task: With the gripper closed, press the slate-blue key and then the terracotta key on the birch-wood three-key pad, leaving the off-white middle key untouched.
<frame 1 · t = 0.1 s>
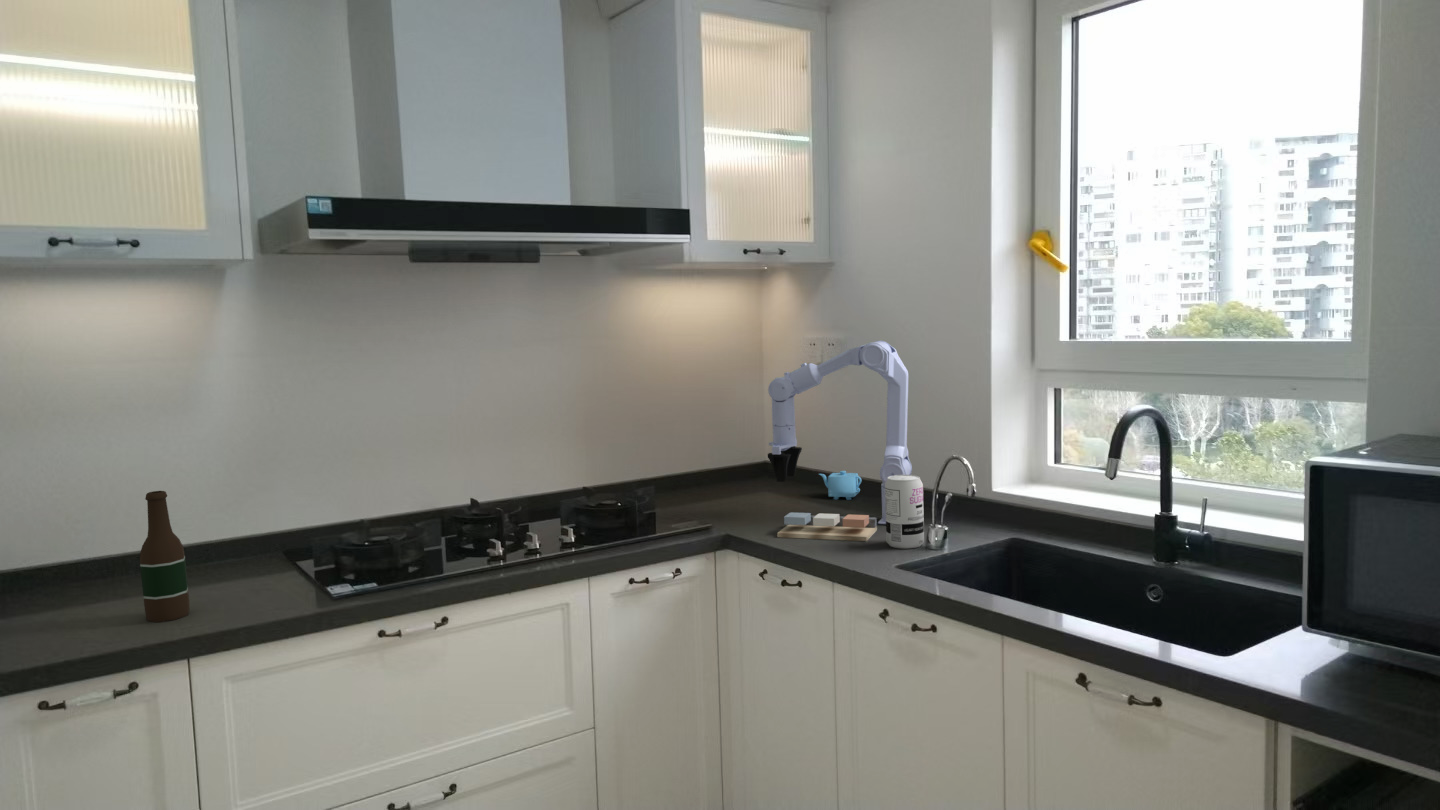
hand: (785, 478, 251), 10 cm above the worktop, fingers open, 7 cm apart
key slate: (797, 518, 235), point 3 cm above the worktop, slide at 0.0 cm
teapot: (840, 498, 275), on the worktop
key middle: (826, 519, 232), point 3 cm above the worktop, slide at 0.0 cm
beer bottle: (168, 617, 190), on the worktop
supplement can: (905, 545, 220), on the worktop
keypad base: (827, 533, 233), on the worktop
key terracotta: (855, 520, 230), point 3 cm above the worktop, slide at 0.0 cm
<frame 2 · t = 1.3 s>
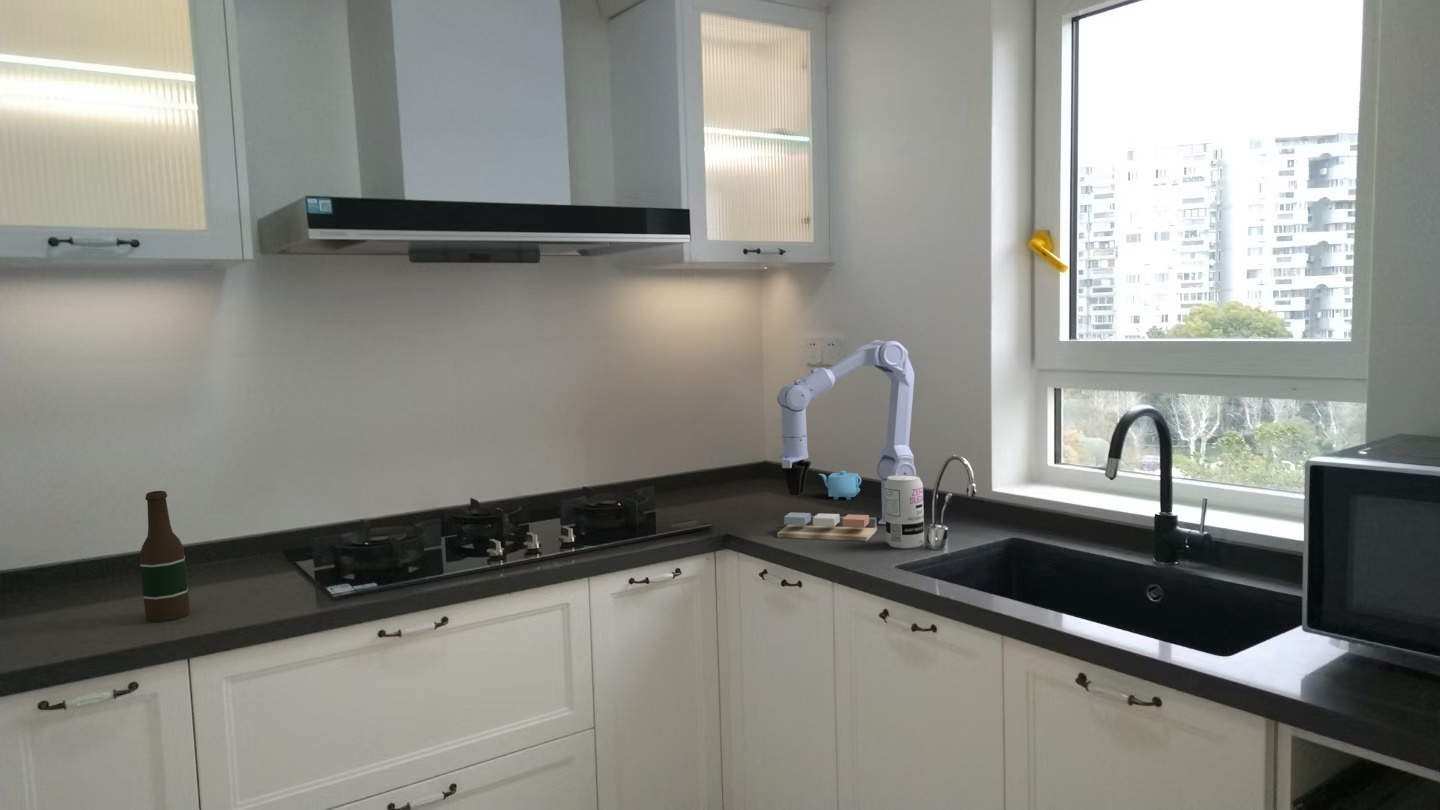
hand: (796, 493, 234), 9 cm above the worktop, fingers open, 3 cm apart
nothing on the worktop moved.
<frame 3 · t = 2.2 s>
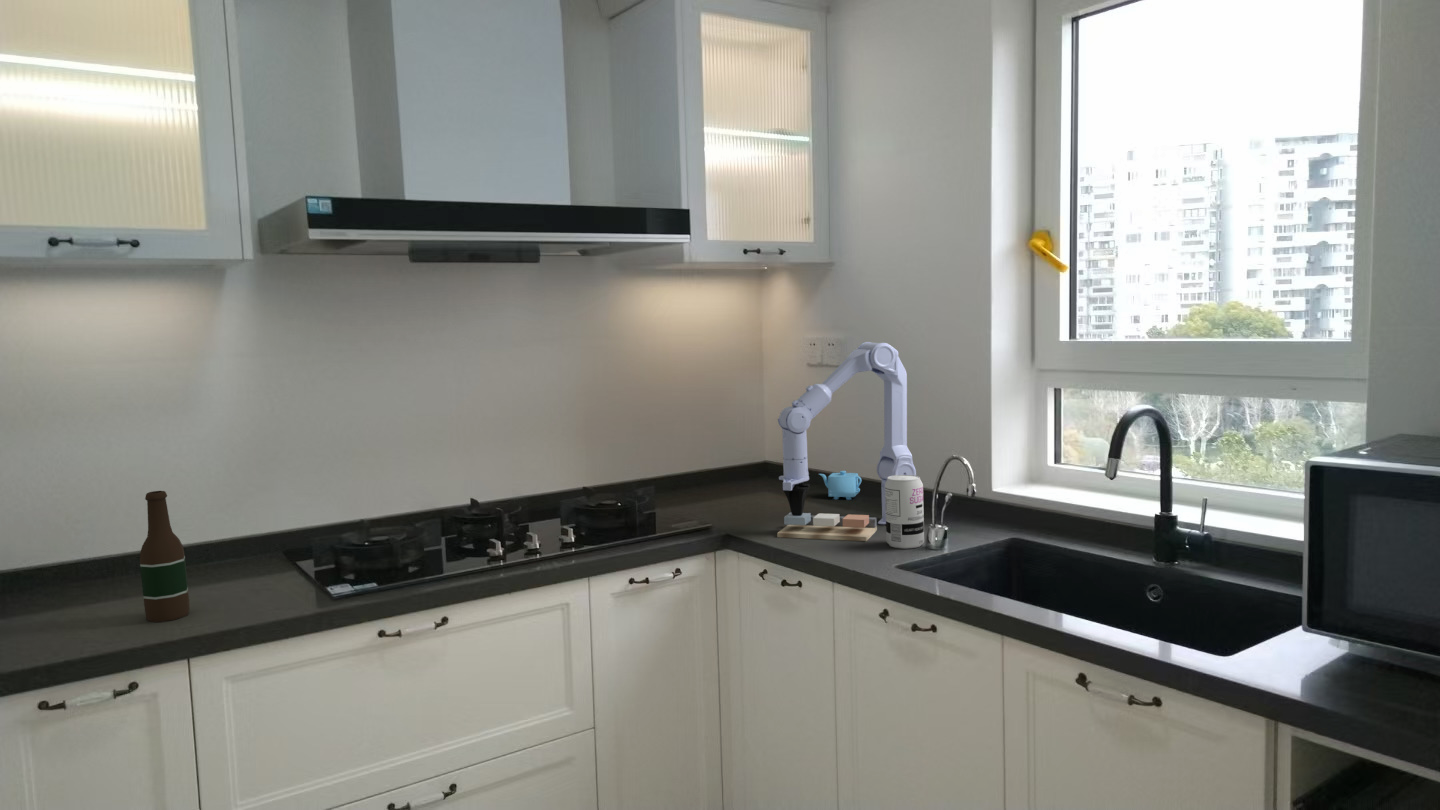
hand: (797, 515, 235), 4 cm above the worktop, fingers closed, pressing on key slate
key slate: (797, 518, 235), point 3 cm above the worktop, slide at 0.0 cm, touching gripper
everything else where it was.
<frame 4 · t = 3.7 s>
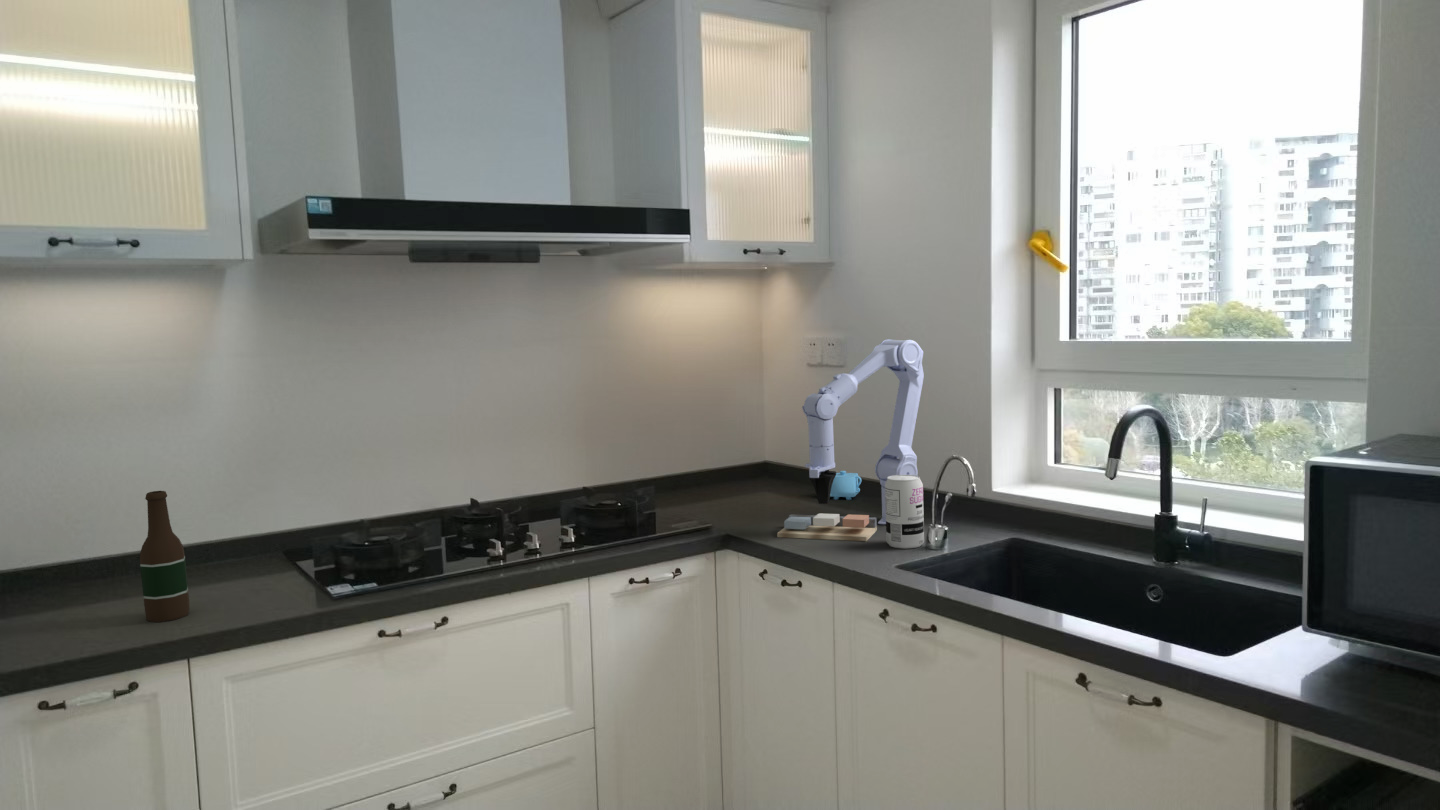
hand: (823, 503, 232), 7 cm above the worktop, fingers closed
key slate: (797, 522, 235), point 2 cm above the worktop, slide at 1.0 cm
everything else where it was.
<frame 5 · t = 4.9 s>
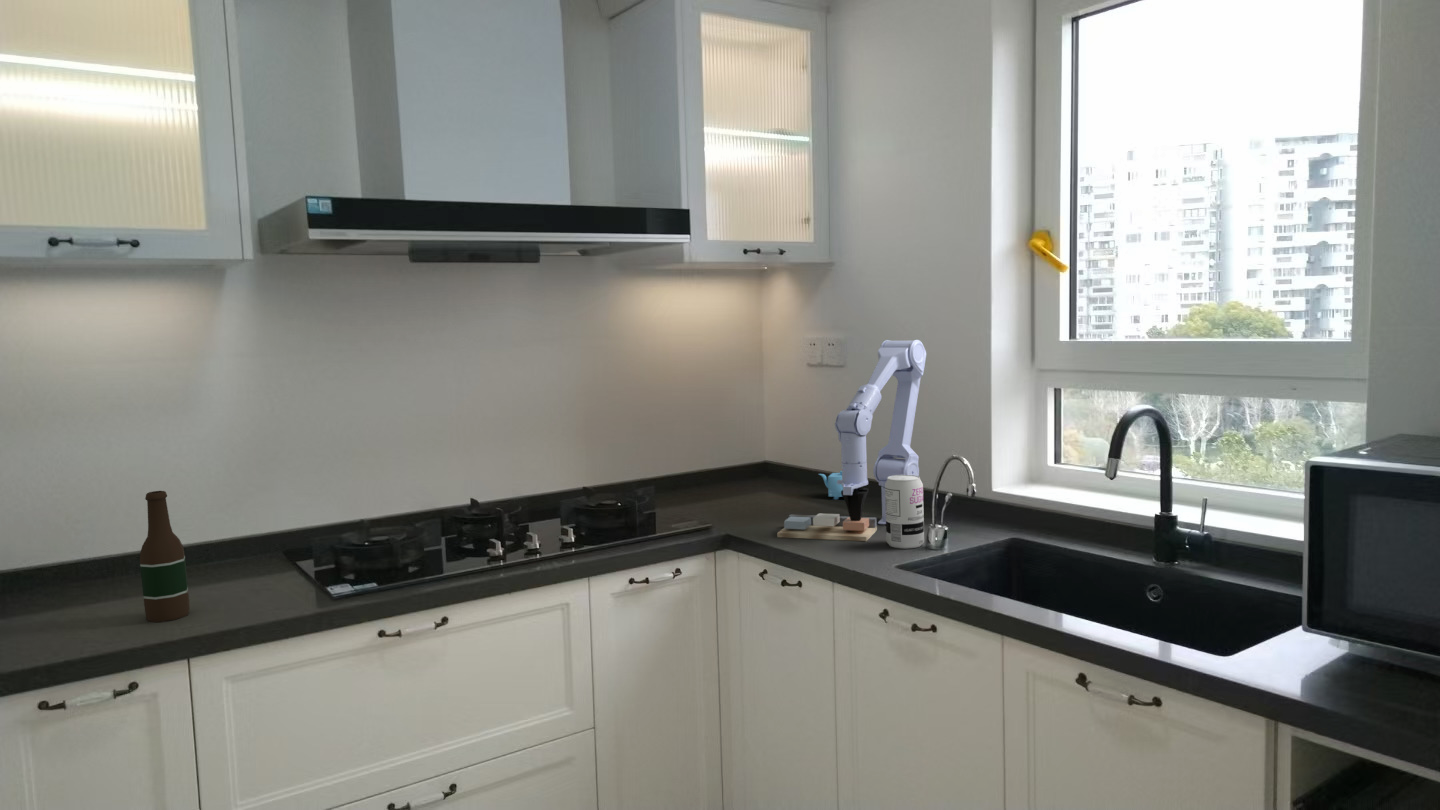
hand: (855, 520, 230), 4 cm above the worktop, fingers closed, pressing on key terracotta
key terracotta: (856, 524, 230), point 3 cm above the worktop, slide at 0.7 cm, touching gripper
everything else where it was.
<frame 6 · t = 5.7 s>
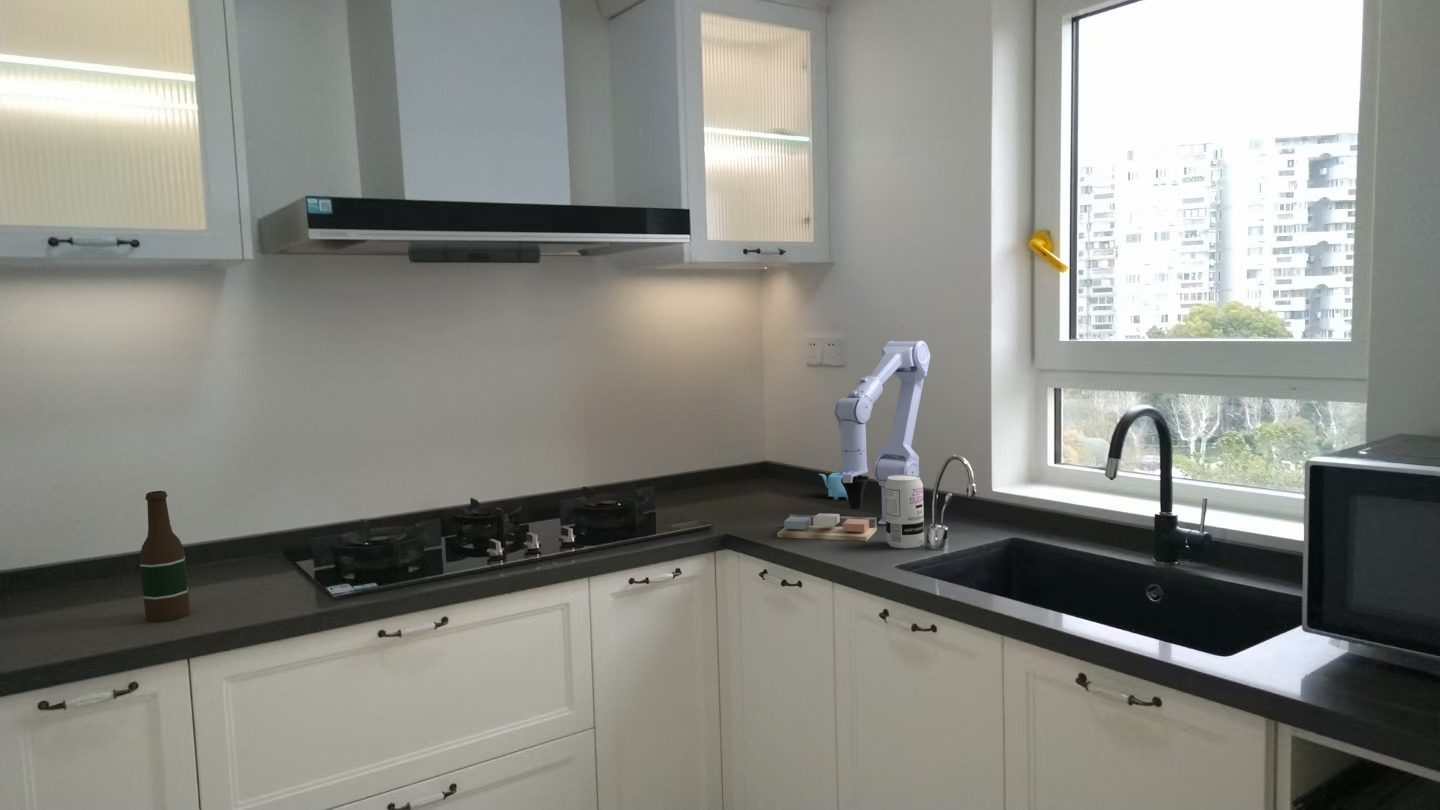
hand: (855, 508, 230), 6 cm above the worktop, fingers closed
key terracotta: (856, 525, 230), point 2 cm above the worktop, slide at 1.0 cm
everything else where it was.
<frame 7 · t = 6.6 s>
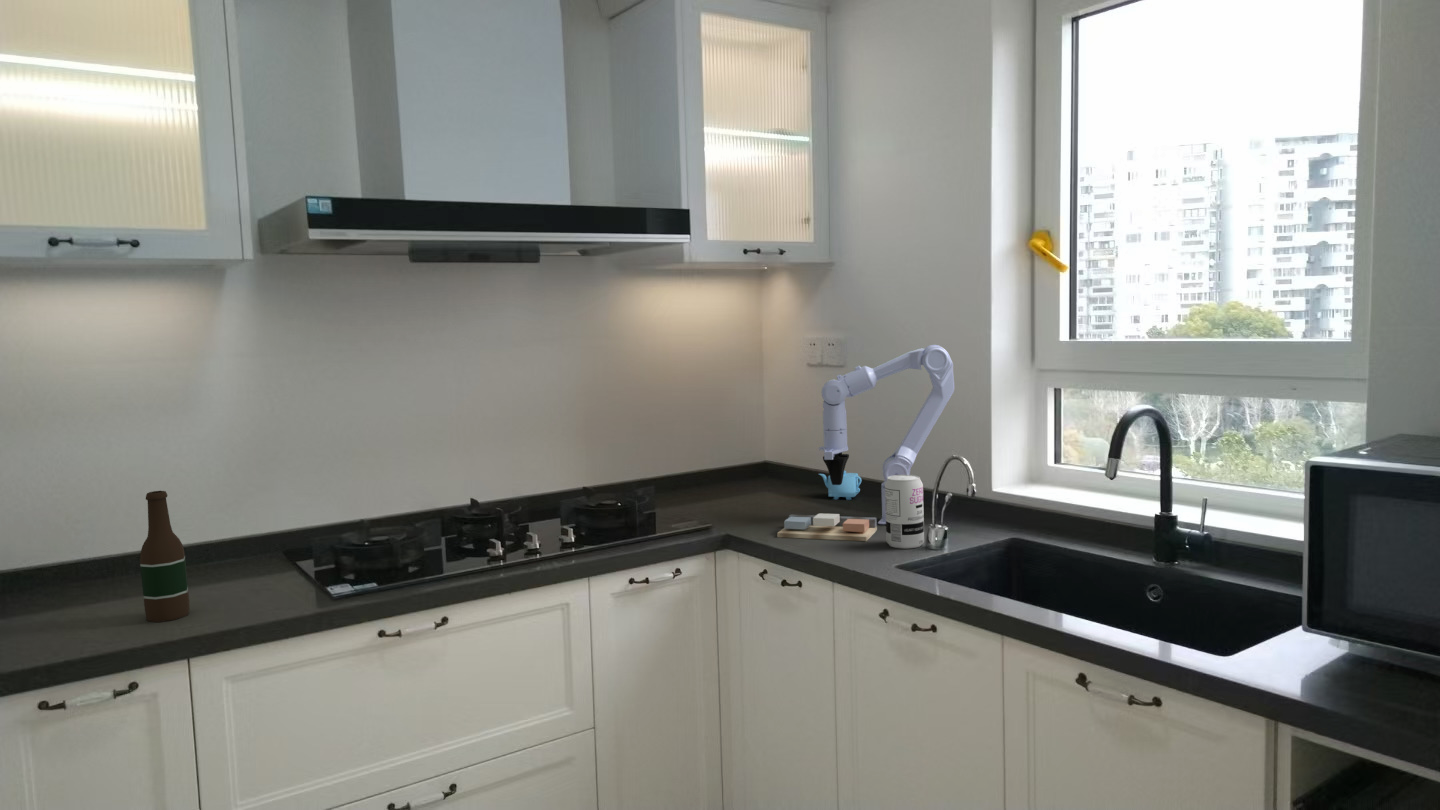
hand: (836, 484, 244), 9 cm above the worktop, fingers closed
nothing on the worktop moved.
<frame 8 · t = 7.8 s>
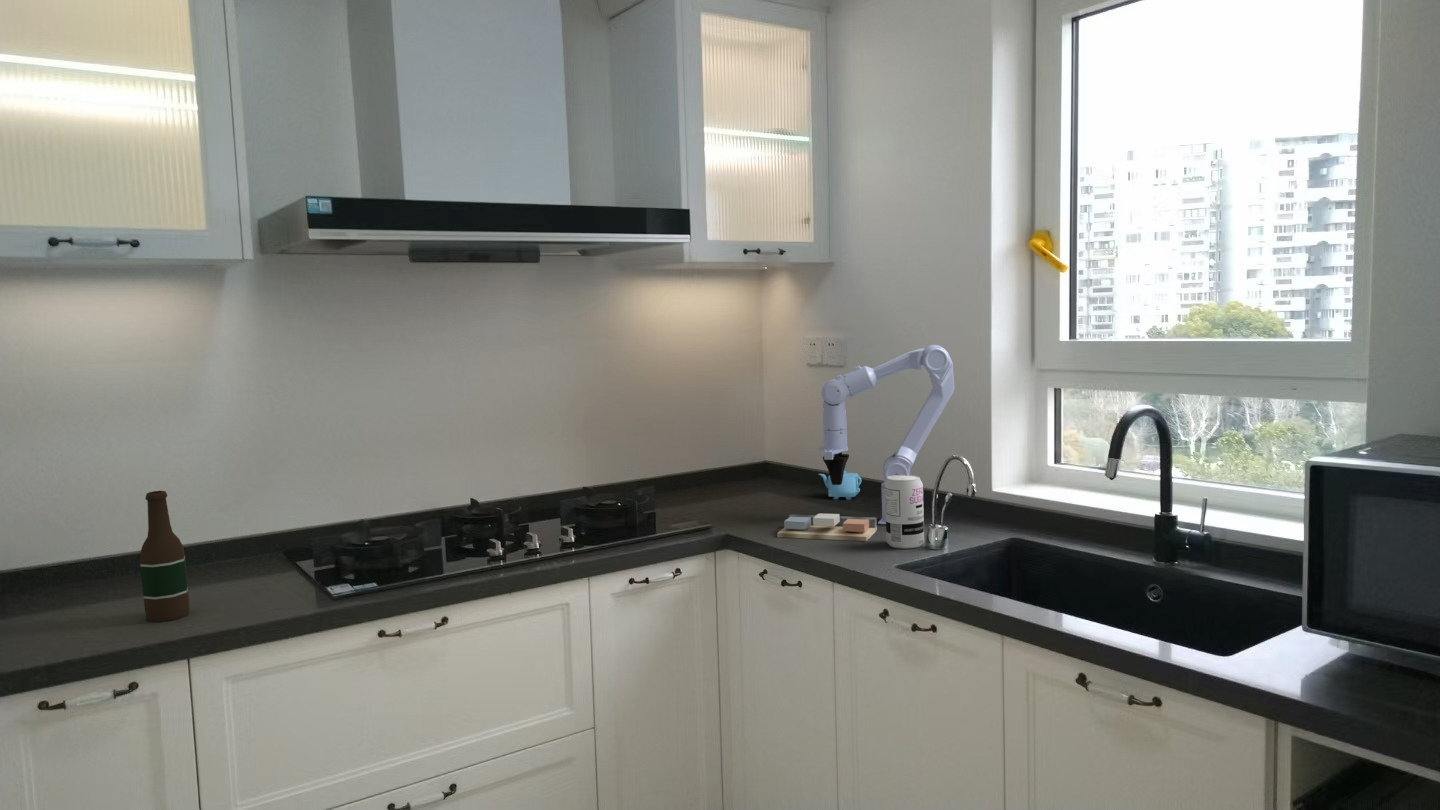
hand: (836, 484, 244), 9 cm above the worktop, fingers closed
nothing on the worktop moved.
at the end: key slate slide at 1.0 cm; key terracotta slide at 1.0 cm; key middle slide at 0.0 cm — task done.
